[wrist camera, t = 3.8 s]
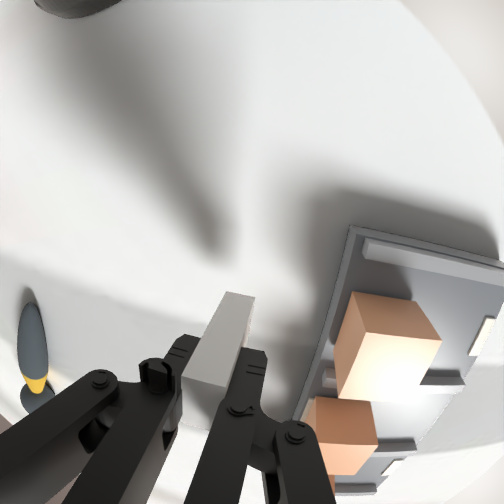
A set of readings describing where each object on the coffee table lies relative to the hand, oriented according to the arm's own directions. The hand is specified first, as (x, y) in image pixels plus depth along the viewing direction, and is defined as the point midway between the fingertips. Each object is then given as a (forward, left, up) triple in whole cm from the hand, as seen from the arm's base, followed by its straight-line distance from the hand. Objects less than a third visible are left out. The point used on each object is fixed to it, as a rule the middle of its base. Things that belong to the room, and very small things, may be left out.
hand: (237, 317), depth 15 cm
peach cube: (+8, +8, -1) cm, 11 cm away
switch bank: (+8, +11, -4) cm, 14 cm away
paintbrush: (+16, -23, -4) cm, 28 cm away
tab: (0, +8, -1) cm, 8 cm away
